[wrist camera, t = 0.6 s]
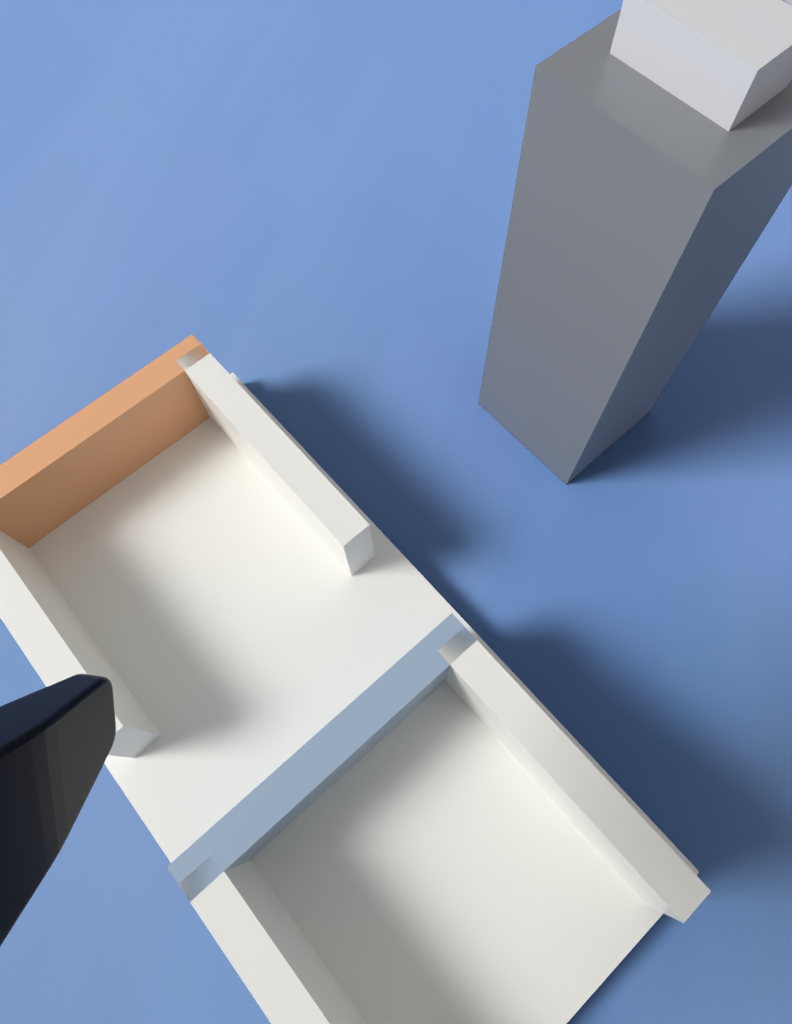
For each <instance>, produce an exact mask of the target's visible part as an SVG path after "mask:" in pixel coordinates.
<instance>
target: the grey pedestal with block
mask: <svg viewBox="0 0 792 1024" xmlns="http://www.w3.org/2000/svg"><path fill="white" fill-rule="evenodd" d="M791 185H792V6H790V5H789V4H787V3H785V2H783V1H782V0H624V1H623V5H622V8H621V9H620V10H619V11H617V12H616V13H614V14H613V15H611V16H610V17H608V18H607V19H605V20H604V21H602V22H601V23H599V24H598V25H596V26H595V27H593V28H592V29H590V30H589V31H587V32H586V33H584V34H583V35H581V36H580V37H578V38H577V39H575V40H574V41H572V42H571V43H569V44H568V45H566V46H565V47H563V48H562V49H560V50H559V51H557V52H556V53H554V54H553V55H551V56H550V57H548V58H547V59H545V60H544V61H542V62H541V63H539V64H538V65H536V68H535V74H534V79H533V85H532V91H531V97H530V103H529V109H528V115H527V121H526V126H525V132H524V138H523V144H522V150H521V156H520V162H519V168H518V173H517V179H516V185H515V191H514V197H513V203H512V209H511V215H510V220H509V226H508V232H507V238H506V244H505V250H504V256H503V262H502V267H501V273H500V279H499V285H498V291H497V297H496V303H495V309H494V314H493V320H492V326H491V332H490V338H489V344H488V350H487V356H486V361H485V367H484V373H483V379H482V385H481V391H480V397H479V404H480V405H481V406H482V407H483V408H484V409H485V410H486V411H487V412H489V413H490V414H491V415H492V416H493V417H494V418H495V419H496V420H497V421H498V422H499V423H500V424H501V425H503V426H504V427H505V428H506V429H507V430H508V431H509V432H510V433H511V434H512V435H513V436H514V437H516V438H517V439H518V440H519V441H520V442H521V443H522V444H523V445H524V446H525V447H526V448H527V449H528V450H530V451H531V452H532V453H533V454H534V455H535V456H536V457H537V458H538V459H539V460H540V461H541V462H542V463H544V464H545V465H546V466H547V467H548V468H549V469H550V470H551V471H552V472H553V473H554V474H555V475H557V476H558V477H559V478H560V479H561V480H562V481H563V482H564V483H565V484H568V483H569V482H570V481H571V480H572V479H573V478H574V477H576V476H577V475H578V474H579V473H580V472H581V471H582V470H584V469H585V468H586V467H587V466H588V465H589V464H590V463H592V462H593V461H594V460H595V459H596V458H597V457H598V456H599V455H601V454H602V453H603V452H604V451H605V450H606V449H607V448H609V447H610V446H611V445H612V444H613V443H614V442H615V441H617V440H618V439H619V438H620V437H621V436H622V435H623V434H625V433H626V432H627V431H628V430H629V429H630V428H631V427H633V426H634V425H635V424H636V423H637V422H638V421H639V420H641V419H642V418H643V417H644V416H645V415H646V414H647V413H648V412H650V411H651V409H652V408H653V406H654V404H655V403H656V401H657V400H658V398H659V396H660V395H661V393H662V392H663V390H664V388H665V387H666V385H667V384H668V382H669V380H670V379H671V377H672V376H673V374H674V372H675V371H676V369H677V368H678V366H679V364H680V363H681V361H682V360H683V358H684V356H685V355H686V353H687V352H688V350H689V348H690V347H691V345H692V344H693V342H694V340H695V339H696V337H697V336H698V334H699V332H700V331H701V329H702V328H703V326H704V324H705V323H706V321H707V320H708V318H709V316H710V315H711V313H712V312H713V310H714V308H715V307H716V305H717V304H718V302H719V300H720V299H721V297H722V296H723V294H724V292H725V291H726V289H727V288H728V286H729V284H730V283H731V281H732V280H733V278H734V276H735V275H736V273H737V272H738V270H739V268H740V267H741V265H742V264H743V262H744V260H745V259H746V257H747V256H748V254H749V252H750V251H751V249H752V248H753V246H754V244H755V243H756V241H757V240H758V238H759V236H760V235H761V233H762V232H763V230H764V228H765V227H766V225H767V224H768V222H769V220H770V219H771V217H772V216H773V214H774V212H775V211H776V209H777V208H778V206H779V204H780V203H781V201H782V200H783V198H784V196H785V195H786V193H787V192H788V190H789V188H790V187H791Z"/></svg>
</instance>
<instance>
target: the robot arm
mask: <svg viewBox="0 0 792 1024" xmlns="http://www.w3.org/2000/svg"><path fill="white" fill-rule="evenodd" d="M115 734H116V722H115V709H114V696H113V687H112V683H111V681H110V680H109V679H108V678H107V677H103V676H96V675H88V674H76V675H74V676H71V677H69V678H67V679H64V680H62V681H60V682H57V683H55V684H52V685H50V686H48V687H45V688H43V689H41V690H38V691H36V692H34V693H31V694H29V695H27V696H24V697H22V698H19V699H17V700H15V701H12V702H10V703H8V704H5V705H3V706H1V707H0V946H1V944H2V943H3V941H4V940H5V938H6V937H7V935H8V933H9V932H10V930H11V929H12V927H13V925H14V924H15V922H16V921H17V919H18V917H19V916H20V914H21V913H22V911H23V910H24V908H25V906H26V905H27V903H28V902H29V900H30V898H31V897H32V895H33V894H34V892H35V891H36V889H37V887H38V886H39V884H40V883H41V881H42V879H43V878H44V876H45V875H46V873H47V872H48V870H49V868H50V867H51V865H52V863H53V862H54V860H55V858H56V857H57V855H58V853H59V852H60V850H61V848H62V846H63V844H64V842H65V840H66V838H67V837H68V835H69V833H70V831H71V829H72V827H73V825H74V823H75V821H76V819H77V817H78V815H79V813H80V811H81V809H82V807H83V805H84V802H85V800H86V798H87V796H88V794H89V792H90V790H91V788H92V786H93V784H94V782H95V780H96V778H97V776H98V774H99V772H100V770H101V768H102V766H103V764H104V762H105V760H106V758H107V756H108V754H109V752H110V750H111V748H112V746H113V743H114V739H115Z"/></svg>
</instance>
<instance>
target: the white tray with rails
mask: <svg viewBox="0 0 792 1024" xmlns="http://www.w3.org/2000/svg"><path fill="white" fill-rule="evenodd" d="M0 618H1V619H2V621H3V622H4V624H5V625H6V627H7V628H8V630H9V631H10V633H11V634H12V636H13V637H14V639H15V640H16V642H17V643H18V645H19V646H20V648H21V649H22V651H23V652H24V654H25V655H26V657H27V658H28V660H29V661H30V663H31V664H32V666H33V667H34V669H35V670H36V672H37V673H38V675H39V676H40V678H41V679H42V681H43V682H44V684H45V685H46V687H48V686H50V685H52V684H55V683H57V682H60V681H62V680H64V679H67V678H69V677H71V676H74V675H76V674H88V675H96V676H103V677H107V678H108V679H109V680H110V681H111V683H112V687H113V696H114V709H115V722H116V734H115V739H114V743H113V746H112V748H111V750H110V752H109V754H108V756H107V758H106V760H105V762H104V763H105V765H106V766H107V768H108V769H109V771H110V772H111V774H112V775H113V777H114V778H115V780H116V781H117V783H118V784H119V786H120V787H121V789H122V790H123V792H124V793H125V795H126V796H127V798H128V799H129V801H130V802H131V804H132V805H133V807H134V808H135V810H136V811H137V813H138V814H139V816H140V817H141V819H142V820H143V822H144V823H145V825H146V826H147V828H148V829H149V831H150V832H151V834H152V835H153V837H154V838H155V840H156V841H157V843H158V844H159V845H160V847H161V848H162V850H163V851H164V853H165V854H166V856H167V857H168V859H169V860H170V862H171V864H169V865H168V866H167V868H168V870H169V871H170V873H171V874H172V876H173V877H174V879H175V880H176V882H177V883H178V885H179V886H180V888H181V889H182V891H183V892H184V894H185V895H186V897H187V898H188V900H189V901H190V903H191V904H192V906H193V907H194V909H195V910H196V912H197V913H198V915H199V916H200V918H201V919H202V921H203V922H204V924H205V925H206V927H207V928H208V930H209V931H210V933H211V934H212V936H213V937H214V939H215V940H216V942H217V943H218V945H219V946H220V948H221V949H222V950H223V952H224V953H225V955H226V956H227V958H228V959H229V961H230V962H231V964H232V965H233V967H234V968H235V970H236V971H237V973H238V974H239V976H240V977H241V979H242V980H243V982H244V983H245V985H246V986H247V988H248V989H249V991H250V992H251V994H252V995H253V997H254V998H255V1000H256V1001H257V1003H258V1004H259V1006H260V1007H261V1009H262V1010H263V1012H264V1013H265V1015H266V1016H267V1018H268V1019H269V1021H270V1022H271V1024H567V1023H568V1022H569V1020H570V1019H571V1018H572V1017H573V1016H574V1015H575V1014H576V1012H577V1011H578V1010H579V1009H580V1008H581V1007H582V1006H583V1004H584V1003H585V1002H586V1001H587V1000H588V999H589V998H590V996H591V995H592V994H593V993H594V992H595V991H596V990H597V988H598V987H599V986H600V985H601V984H602V983H603V982H604V981H605V979H606V978H607V977H608V976H609V975H610V974H611V973H612V971H613V970H614V969H615V968H616V967H617V966H618V965H619V963H620V962H621V961H622V960H623V959H624V958H625V957H626V955H627V954H628V953H629V952H630V951H631V950H632V949H633V948H634V946H635V945H636V944H637V943H638V942H639V941H640V940H641V938H642V937H643V936H644V935H645V934H646V933H647V932H648V930H649V929H650V928H651V927H652V926H653V925H654V924H655V922H656V921H657V920H658V919H659V918H660V917H661V916H662V915H663V913H664V914H666V915H668V916H670V917H672V918H674V919H676V920H678V921H680V922H682V923H684V922H685V921H686V920H687V919H688V918H689V916H690V915H691V914H692V913H693V912H694V911H695V909H696V908H697V907H698V906H699V905H700V904H701V903H702V901H703V900H704V899H705V898H706V897H707V896H708V894H709V893H710V892H711V890H710V889H709V888H708V887H707V886H706V885H705V884H704V883H703V882H702V881H701V880H700V879H699V878H698V877H697V875H698V874H699V871H698V870H697V869H696V868H695V866H694V865H693V864H692V863H691V862H690V861H689V860H688V859H687V858H686V857H685V856H684V855H683V854H682V853H681V851H680V850H679V849H678V848H677V847H676V846H675V845H674V844H673V843H672V842H671V841H670V840H669V839H668V838H667V837H666V835H665V834H664V833H663V832H662V831H661V830H660V829H659V828H658V827H657V826H656V825H655V824H654V823H653V822H652V820H651V819H650V818H649V817H648V816H647V815H646V814H645V813H644V812H643V811H642V810H641V809H640V808H639V807H638V805H637V804H636V803H635V802H634V801H633V800H632V799H631V798H630V797H629V796H628V795H627V794H626V793H625V792H624V791H623V789H622V788H621V787H620V786H619V785H618V784H617V783H616V782H615V781H614V780H613V779H612V778H611V777H610V776H609V774H608V773H607V772H606V771H605V770H604V769H603V768H602V767H601V766H600V765H599V764H598V763H597V762H596V761H595V759H594V758H593V757H592V756H591V755H590V754H589V753H588V752H587V751H586V750H585V749H584V748H583V747H582V746H581V745H580V743H579V742H578V741H577V740H576V739H575V738H574V737H573V736H572V735H571V734H570V733H569V732H568V731H567V730H566V728H565V727H564V726H563V725H562V724H561V723H560V722H559V721H558V720H557V719H556V718H555V717H554V716H553V715H552V713H551V712H550V711H549V710H548V709H547V708H546V707H545V706H544V705H543V704H542V703H541V702H540V701H539V700H538V699H537V697H536V696H535V695H534V694H533V693H532V692H531V691H530V690H529V689H528V688H527V687H526V686H525V685H524V684H523V682H522V681H521V680H520V679H519V678H518V677H517V676H516V675H515V674H514V673H513V672H512V671H511V670H510V669H509V667H508V666H507V665H506V664H505V663H504V662H503V661H502V660H501V659H500V658H499V657H498V656H497V655H496V654H495V653H494V651H493V650H492V649H491V648H490V647H489V646H488V645H487V644H486V643H485V642H484V641H483V640H482V639H481V638H480V636H479V635H478V634H477V633H476V632H475V631H474V630H473V629H472V628H471V627H470V626H469V625H468V624H467V623H466V622H465V620H464V619H463V618H462V617H461V616H460V615H459V614H458V613H457V612H456V611H455V610H454V609H453V608H452V607H451V605H450V604H449V603H448V602H447V601H446V600H445V599H444V598H443V597H442V596H441V595H440V594H439V593H438V592H437V590H436V589H435V588H434V587H433V586H432V585H431V584H430V583H429V582H428V581H427V580H426V579H425V578H424V577H423V576H422V574H421V573H420V572H419V571H418V570H417V569H416V568H415V567H414V566H413V565H412V564H411V563H410V562H409V561H408V559H407V558H406V557H405V556H404V555H403V554H402V553H401V552H400V551H399V550H398V549H397V548H396V547H395V546H394V544H393V543H392V542H391V541H390V540H389V539H388V538H387V537H386V536H385V535H384V534H383V533H382V532H381V531H380V530H379V528H378V527H377V526H376V525H375V524H374V523H373V522H372V521H371V520H370V519H369V518H368V517H367V516H366V515H365V513H364V512H363V511H362V510H361V509H360V508H359V507H358V506H357V505H356V504H355V503H354V502H353V501H352V500H351V498H350V497H349V496H348V495H347V494H346V493H345V492H344V491H343V490H342V489H341V488H340V487H339V486H338V485H337V484H336V482H335V481H334V480H333V479H332V478H331V477H330V476H329V475H328V474H327V473H326V472H325V471H324V470H323V469H322V467H321V466H320V465H319V464H318V463H317V462H316V461H315V460H314V459H313V458H312V457H311V456H310V455H309V454H308V452H307V451H306V450H305V449H304V448H303V447H302V446H301V445H300V444H299V443H298V442H297V441H296V440H295V439H294V438H293V436H292V435H291V434H290V433H289V432H288V431H287V430H286V429H285V428H284V427H283V426H282V425H281V424H280V423H279V421H278V420H277V419H276V418H275V417H274V416H273V415H272V414H271V413H270V412H269V411H268V410H267V409H266V408H265V406H264V405H263V404H262V403H261V402H260V401H259V400H258V399H257V398H256V397H255V396H254V395H253V394H252V393H251V392H250V390H249V389H248V388H247V387H246V386H245V385H244V384H243V383H242V382H241V381H240V380H239V379H238V378H237V377H236V375H235V374H234V373H233V372H232V373H231V374H229V373H228V372H227V371H226V370H225V369H224V368H223V367H222V366H221V365H220V363H219V362H218V361H217V360H216V359H215V358H214V357H213V356H212V355H211V354H210V353H209V352H208V351H207V349H206V348H205V347H204V346H203V345H202V344H201V343H200V342H199V341H198V340H197V339H196V338H195V337H194V336H193V334H192V335H190V336H189V337H187V338H186V339H184V340H183V341H182V342H180V343H179V344H177V345H176V346H174V347H173V348H171V349H170V350H168V351H167V352H165V353H164V354H162V355H161V356H160V357H158V358H157V359H155V360H154V361H152V362H151V363H149V364H148V365H146V366H145V367H143V368H142V369H140V370H139V371H138V372H136V373H135V374H133V375H132V376H130V377H129V378H127V379H126V380H124V381H123V382H121V383H120V384H118V385H117V386H116V387H114V388H113V389H111V390H110V391H108V392H107V393H105V394H104V395H102V396H101V397H99V398H98V399H96V400H95V401H94V402H92V403H91V404H89V405H88V406H86V407H85V408H83V409H82V410H80V411H79V412H77V413H76V414H75V415H73V416H72V417H70V418H69V419H67V420H66V421H64V422H63V423H61V424H60V425H58V426H57V427H55V428H54V429H53V430H51V431H50V432H48V433H47V434H45V435H44V436H42V437H41V438H39V439H38V440H36V441H35V442H33V443H32V444H31V445H29V446H28V447H26V448H25V449H23V450H22V451H20V452H19V453H17V454H16V455H14V456H13V457H11V458H10V459H9V460H7V461H6V462H4V463H3V464H1V465H0Z"/></svg>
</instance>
